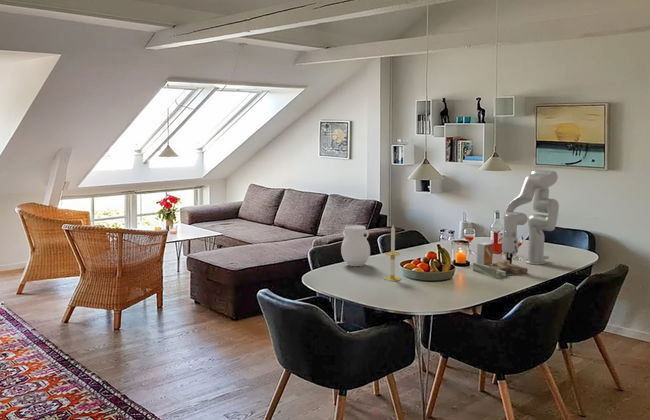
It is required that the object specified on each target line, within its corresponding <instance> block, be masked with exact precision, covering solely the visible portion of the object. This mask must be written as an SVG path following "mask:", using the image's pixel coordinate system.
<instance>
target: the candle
mask: <svg viewBox="0 0 650 420" xmlns="http://www.w3.org/2000/svg"><path fill="white" fill-rule="evenodd" d="M390 230H391V232H390V251H387V252H385V255H386V256H390V273H389V274H390V276H385V277H386V280H390V281H389V282H399V281H402V278H401V277H400V276H396V274H395V272H396V271H395V270H396V269H395V268H396V267H395V266H396V265H395V264H396V256H400V255H401V253H400V252H398V251H396V250H395V249H396V247H395V246H396V243H395V242H396V228H395V226H394V225H392V227H391V228H390ZM386 280H385V281H386ZM398 280H399V281H398Z"/></svg>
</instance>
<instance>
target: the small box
mask: <svg viewBox="0 0 650 420" xmlns="http://www.w3.org/2000/svg"><path fill="white" fill-rule="evenodd" d="M476 246H477V247H476V248H477V249H476V251H477V253H476V263H477V264H480V265H489V264H491V265H492V264H493V258H494V257H493V253H494V243H492V242H480V243H479V242H478V243H477V245H476Z"/></svg>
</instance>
